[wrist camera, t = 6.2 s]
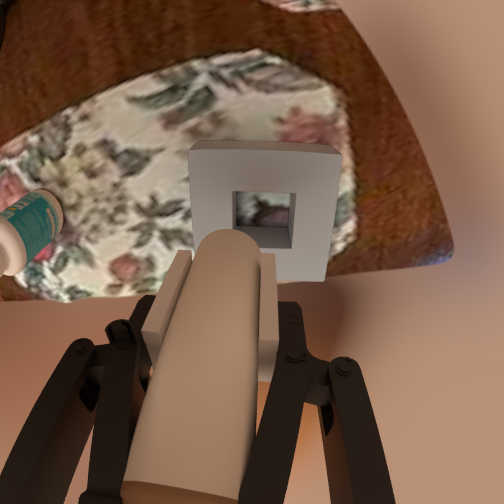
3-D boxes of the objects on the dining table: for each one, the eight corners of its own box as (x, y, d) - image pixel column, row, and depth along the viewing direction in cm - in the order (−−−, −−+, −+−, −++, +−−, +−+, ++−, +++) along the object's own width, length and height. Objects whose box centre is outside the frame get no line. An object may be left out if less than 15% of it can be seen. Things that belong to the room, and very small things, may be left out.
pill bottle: (47, 177, 32) (-21, 223, 20) (74, 222, 35) (16, 280, 24) (20, 202, 34) (-39, 249, 22) (45, 242, 37) (-7, 297, 25)
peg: (194, 227, 18) (92, 492, 5) (262, 229, 18) (253, 522, 5) (199, 282, 20) (137, 518, 7) (260, 285, 20) (250, 535, 7)
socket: (198, 140, 30) (187, 149, 26) (330, 145, 30) (342, 155, 26) (204, 254, 37) (197, 277, 33) (317, 257, 37) (324, 281, 33)
